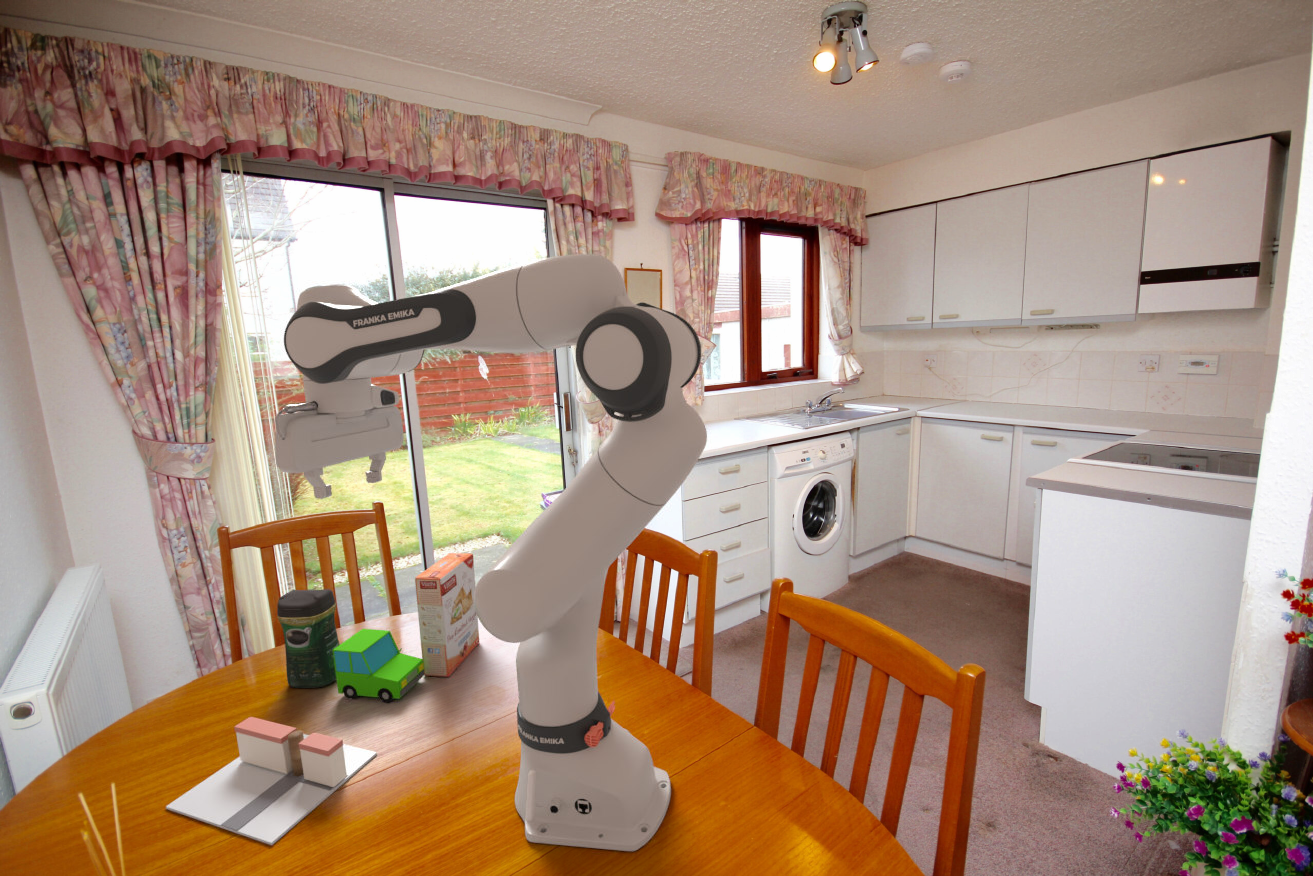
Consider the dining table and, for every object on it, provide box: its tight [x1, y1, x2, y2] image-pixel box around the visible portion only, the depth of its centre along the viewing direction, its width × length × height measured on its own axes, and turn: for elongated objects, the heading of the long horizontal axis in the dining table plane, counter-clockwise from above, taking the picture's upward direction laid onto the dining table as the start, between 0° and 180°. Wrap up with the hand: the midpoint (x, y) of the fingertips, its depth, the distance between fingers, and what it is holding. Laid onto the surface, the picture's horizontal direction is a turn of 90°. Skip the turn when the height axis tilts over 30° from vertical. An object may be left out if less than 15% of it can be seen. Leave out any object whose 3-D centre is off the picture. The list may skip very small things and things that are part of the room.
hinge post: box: [288, 730, 304, 776], centre depth 90 cm, size 2×2×7 cm
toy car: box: [333, 628, 425, 704], centre depth 111 cm, size 10×13×10 cm
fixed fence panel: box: [298, 732, 347, 787], centre depth 88 cm, size 6×3×6 cm, turn 71°
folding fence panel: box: [234, 716, 298, 774], centre depth 92 cm, size 10×3×6 cm, turn 71°
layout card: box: [165, 733, 378, 846], centre depth 89 cm, size 21×18×1 cm
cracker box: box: [414, 552, 480, 678], centre depth 121 cm, size 14×6×21 cm, turn 172°
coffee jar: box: [277, 588, 341, 689], centre depth 115 cm, size 10×8×19 cm
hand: (350, 489), depth 89 cm, fingers open, 8 cm apart
